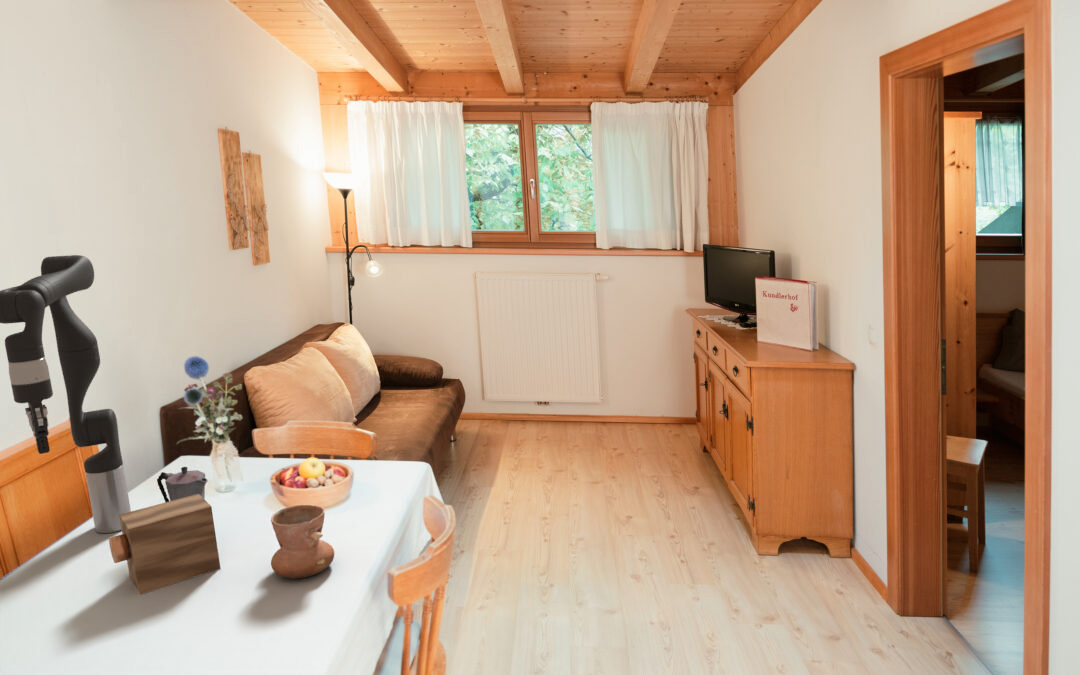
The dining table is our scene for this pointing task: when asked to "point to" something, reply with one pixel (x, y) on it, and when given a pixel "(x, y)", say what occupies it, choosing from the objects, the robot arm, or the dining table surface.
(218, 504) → the dining table surface
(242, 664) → the dining table surface
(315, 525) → the ceramic jug
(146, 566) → the press housing
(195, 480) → the moka pot
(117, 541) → the plunger
